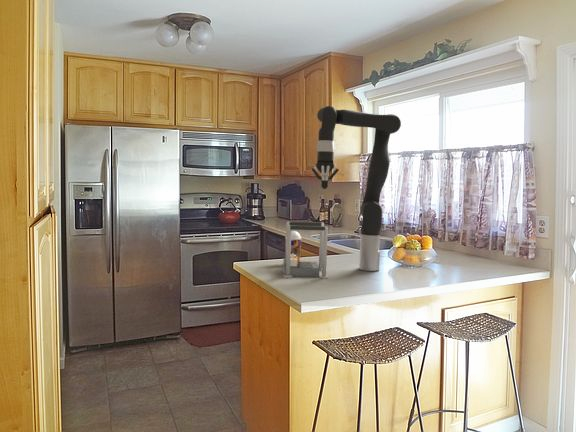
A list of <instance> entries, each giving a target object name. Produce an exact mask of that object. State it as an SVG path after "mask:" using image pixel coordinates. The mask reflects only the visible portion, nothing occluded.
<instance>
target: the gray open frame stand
mask: <svg viewBox="0 0 576 432" xmlns="http://www.w3.org/2000/svg"><path fill="white" fill-rule="evenodd" d="M293 225H294V226H293ZM328 228H329V226H325V223H324V222H322V221H321V222H320V221H319V222H315V221H311V222H310V221H286V229H285V231H286V233H285V237H286V248H285V259H286V275H283V274H282V275H283V278H287V279H289V278H290V279H291V278H293V276H292V275H290V256H291V231H293V230H294V231H319V246H318V249H319V250H318V266H319V272H321V274H319V277H318V278H319V279H324V280H326V279H329V275H327V261H328V260H327V259H328V258H327V257H328V235H329V234H328V230H329V229H328Z"/></svg>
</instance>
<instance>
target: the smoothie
mask: <svg viewBox="0 0 576 432" xmlns="http://www.w3.org/2000/svg"><path fill="white" fill-rule="evenodd" d="M292 226H295V225H292ZM284 239H285V240H284V242H285V243H284V244H285V245H284V246H285V249H286V236H285V237H284ZM302 239H303V238H302V236H301V234H300V232H298V230H291V254H294V255H296V257H298V261H300V260H301V252H302V251H301V250H302V249H301V248H302Z"/></svg>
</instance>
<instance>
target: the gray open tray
mask: <svg viewBox="0 0 576 432" xmlns="http://www.w3.org/2000/svg"><path fill="white" fill-rule="evenodd" d="M282 259H283V260H282V275H286V257H283V258H282ZM290 275H292V277H297V278H298V277H301V278H302V277H303V278H305V277H306V278H319V276H320V271H319V263H318V262H317V261H298V264H297V266H290Z"/></svg>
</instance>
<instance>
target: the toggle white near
mask: <svg viewBox="0 0 576 432" xmlns="http://www.w3.org/2000/svg"><path fill="white" fill-rule="evenodd" d="M290 266H297V259H295V258H290Z"/></svg>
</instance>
